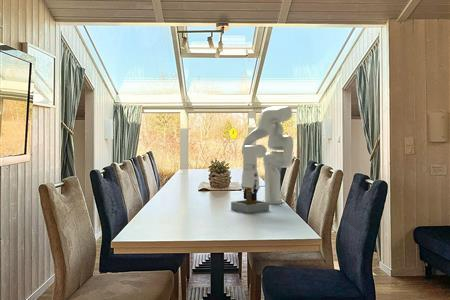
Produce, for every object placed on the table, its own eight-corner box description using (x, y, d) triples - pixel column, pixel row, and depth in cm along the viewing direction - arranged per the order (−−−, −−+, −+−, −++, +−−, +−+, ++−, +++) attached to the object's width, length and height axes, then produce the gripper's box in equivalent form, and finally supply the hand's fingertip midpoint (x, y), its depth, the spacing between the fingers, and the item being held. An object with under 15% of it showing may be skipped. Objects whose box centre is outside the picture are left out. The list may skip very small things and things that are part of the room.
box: (251, 206, 237) (251, 199, 236) (269, 210, 224) (269, 202, 224) (231, 209, 228) (231, 201, 228) (248, 213, 216) (247, 205, 215)
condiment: (259, 206, 226) (259, 185, 225) (247, 208, 221) (247, 186, 221) (252, 205, 232) (251, 184, 231) (239, 206, 227) (239, 185, 227)
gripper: (265, 168, 221) (265, 201, 221) (245, 166, 235) (245, 197, 235) (254, 168, 216) (254, 202, 217) (235, 166, 230) (235, 198, 231)
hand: (250, 199), depth 226 cm, fingers closed on condiment, 6 cm apart
